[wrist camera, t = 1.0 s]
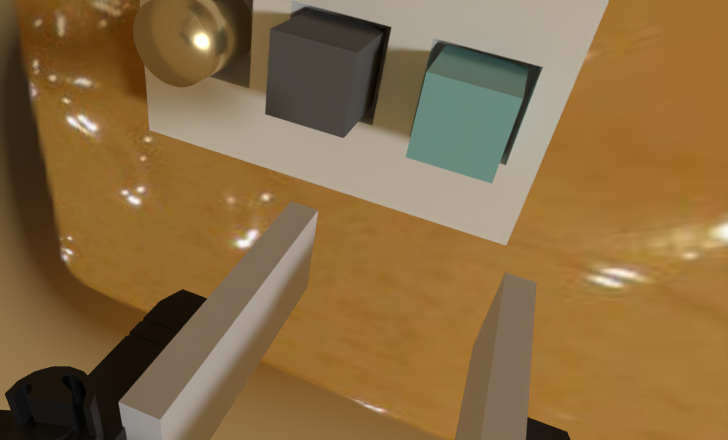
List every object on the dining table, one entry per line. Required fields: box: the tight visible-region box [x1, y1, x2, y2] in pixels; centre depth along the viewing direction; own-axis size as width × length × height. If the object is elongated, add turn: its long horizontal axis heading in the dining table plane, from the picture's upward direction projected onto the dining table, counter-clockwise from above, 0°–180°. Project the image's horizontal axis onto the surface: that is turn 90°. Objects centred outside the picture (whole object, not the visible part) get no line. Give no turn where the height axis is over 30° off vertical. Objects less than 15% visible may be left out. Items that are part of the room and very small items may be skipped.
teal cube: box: [406, 45, 529, 183], centre depth 24 cm, size 4×4×4 cm
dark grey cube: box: [265, 9, 387, 138], centre depth 25 cm, size 4×4×4 cm
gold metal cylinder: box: [133, 0, 252, 87], centre depth 26 cm, size 4×4×4 cm
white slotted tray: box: [139, 0, 609, 245], centre depth 28 cm, size 14×22×5 cm, turn 80°
